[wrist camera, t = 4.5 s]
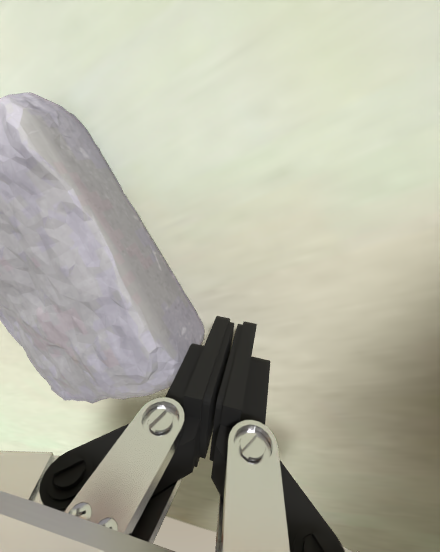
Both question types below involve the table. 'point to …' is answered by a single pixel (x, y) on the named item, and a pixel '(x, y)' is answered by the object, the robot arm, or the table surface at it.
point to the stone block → (82, 264)
